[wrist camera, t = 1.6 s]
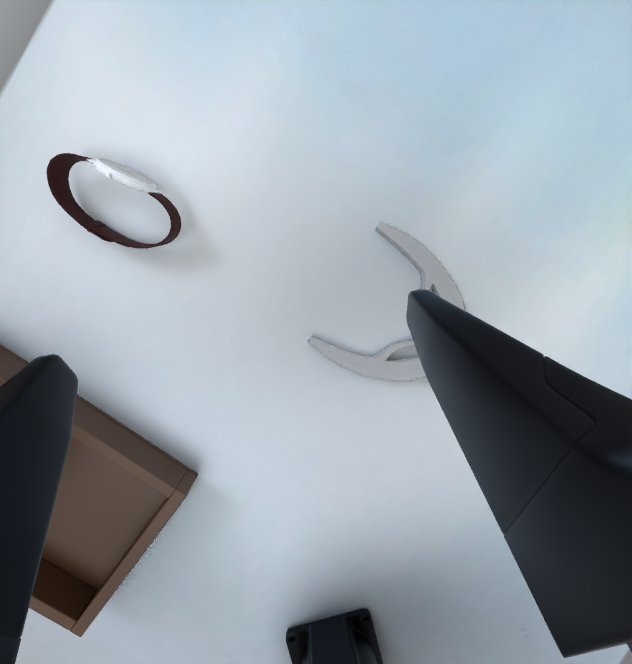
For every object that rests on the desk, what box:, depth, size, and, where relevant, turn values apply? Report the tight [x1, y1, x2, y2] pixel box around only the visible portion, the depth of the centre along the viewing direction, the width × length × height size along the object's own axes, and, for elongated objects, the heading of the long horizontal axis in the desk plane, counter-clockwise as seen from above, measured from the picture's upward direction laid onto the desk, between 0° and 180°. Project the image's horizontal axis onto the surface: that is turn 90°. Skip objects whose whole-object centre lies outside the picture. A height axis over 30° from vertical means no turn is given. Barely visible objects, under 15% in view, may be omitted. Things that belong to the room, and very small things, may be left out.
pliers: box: [308, 221, 465, 381], centre depth 25 cm, size 10×2×15 cm
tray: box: [0, 345, 198, 637], centre depth 23 cm, size 17×12×3 cm
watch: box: [47, 153, 181, 248], centre depth 21 cm, size 8×5×4 cm, turn 63°
